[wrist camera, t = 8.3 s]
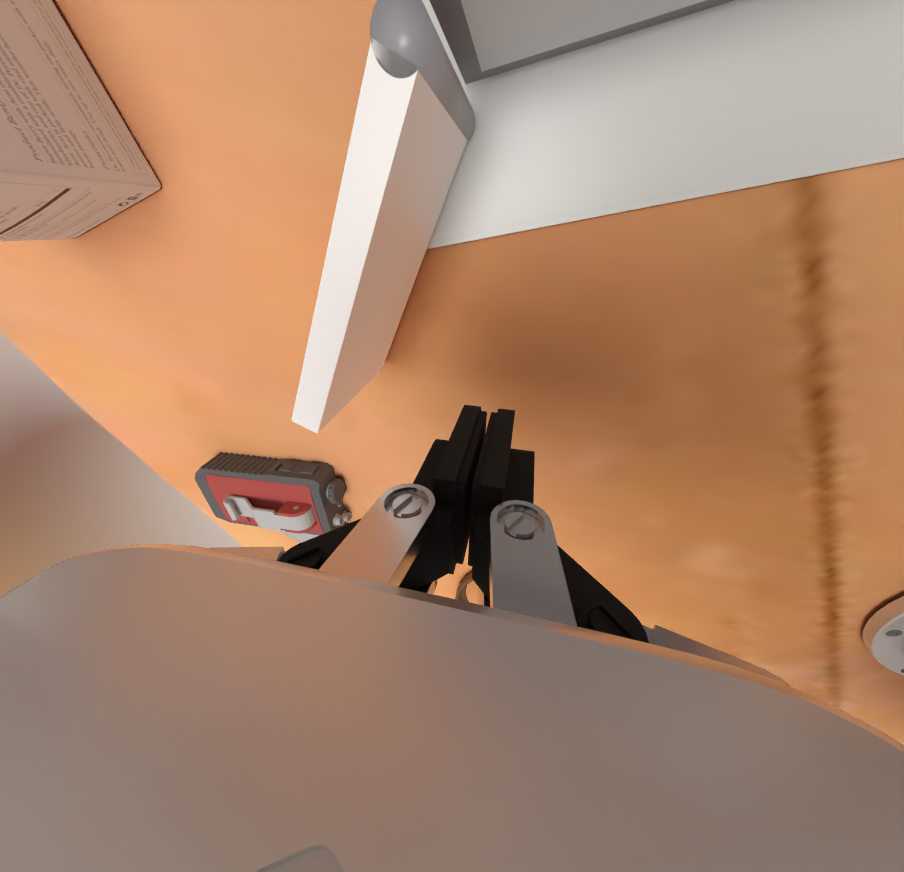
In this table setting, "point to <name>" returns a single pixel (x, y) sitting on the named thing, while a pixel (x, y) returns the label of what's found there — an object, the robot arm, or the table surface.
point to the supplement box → (59, 133)
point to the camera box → (660, 102)
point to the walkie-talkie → (274, 494)
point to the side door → (383, 205)
